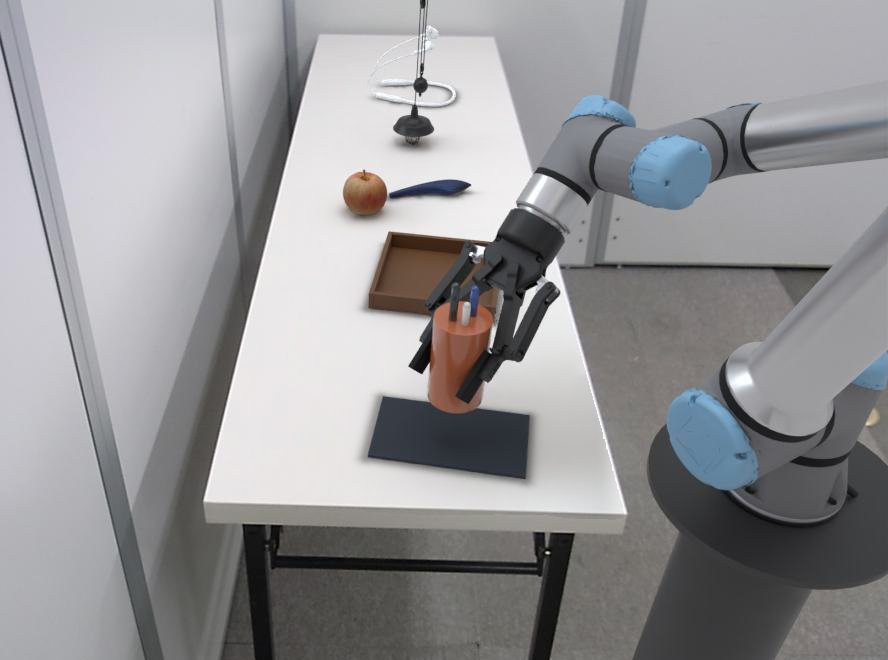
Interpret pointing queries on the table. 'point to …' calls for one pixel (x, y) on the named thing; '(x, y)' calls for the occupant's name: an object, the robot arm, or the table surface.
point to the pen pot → (457, 350)
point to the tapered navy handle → (433, 188)
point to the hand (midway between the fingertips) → (438, 384)
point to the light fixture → (414, 122)
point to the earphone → (428, 48)
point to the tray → (419, 272)
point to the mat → (451, 438)
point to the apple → (364, 193)
